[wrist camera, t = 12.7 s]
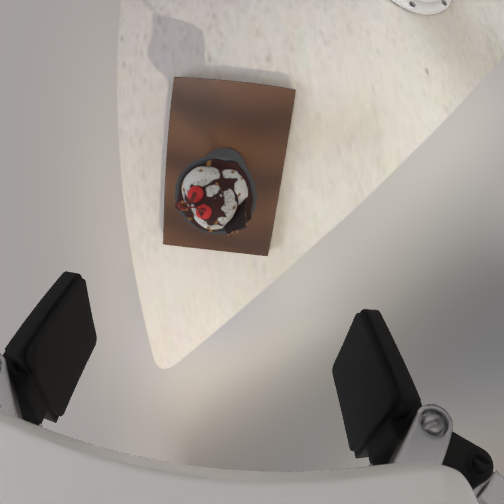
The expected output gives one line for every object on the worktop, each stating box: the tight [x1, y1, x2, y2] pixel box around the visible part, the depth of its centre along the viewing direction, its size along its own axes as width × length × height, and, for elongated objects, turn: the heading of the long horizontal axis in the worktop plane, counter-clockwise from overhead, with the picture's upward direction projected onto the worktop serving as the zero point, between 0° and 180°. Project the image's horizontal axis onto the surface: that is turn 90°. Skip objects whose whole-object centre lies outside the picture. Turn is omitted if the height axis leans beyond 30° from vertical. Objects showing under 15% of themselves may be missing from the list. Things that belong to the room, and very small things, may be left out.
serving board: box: [163, 77, 296, 256], centre depth 34 cm, size 20×13×2 cm, turn 172°
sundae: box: [174, 148, 257, 236], centre depth 27 cm, size 7×7×15 cm
